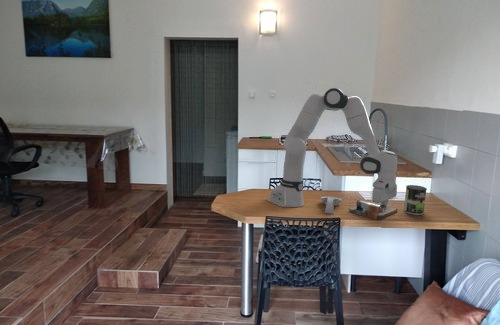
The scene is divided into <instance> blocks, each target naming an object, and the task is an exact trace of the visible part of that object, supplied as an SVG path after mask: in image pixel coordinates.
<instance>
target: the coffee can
mask: <svg viewBox="0 0 500 325" xmlns="http://www.w3.org/2000/svg"><path fill="white" fill-rule="evenodd" d="M405 188H406V189H405V198H404V206H403V212H404V213H405V214H409V215H413V216H421V215H424V212H425V211H424V210H425V202H426V195H427V187H424V186H421V185H416V184H408V185H406V186H405Z"/></svg>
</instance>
